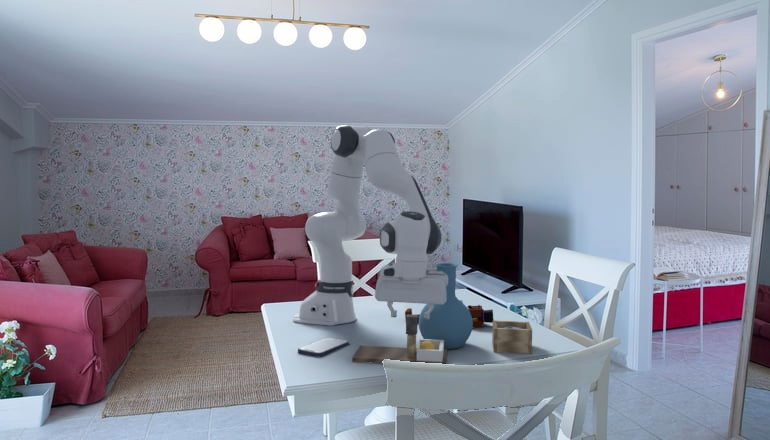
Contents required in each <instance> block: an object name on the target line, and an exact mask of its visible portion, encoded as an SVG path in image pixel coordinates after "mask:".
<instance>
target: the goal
mask: <svg viewBox="0 0 770 440" xmlns="http://www.w3.org/2000/svg"><path fill="white" fill-rule="evenodd" d="M424 341H430V342H432V343H433V345H434V350H431V349H417V361H435V362H442V360H443V353H444V350H445V349H444V340H435V339H423V338H420V339H419V347H420V346H421V344H422V343H423V342H424Z"/></svg>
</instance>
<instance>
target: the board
mask: <svg viewBox="0 0 770 440" xmlns="http://www.w3.org/2000/svg"><path fill="white" fill-rule="evenodd" d="M417 349H420V347H416V352H415V355H414V357H407V347H403V346H402V347H400V346H381V345H378V346H377V345H359V346H358V347H357V349H356V351H355V353H354V354H353V356H352V358H351V363H363V362H372V363H371V364H381V363H382V361H383V360H384V359H390V360H400V361H410V362H425V363H442V364H446V365H447V358H448V349H444V353H443V360H442V362H435V361H417Z"/></svg>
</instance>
